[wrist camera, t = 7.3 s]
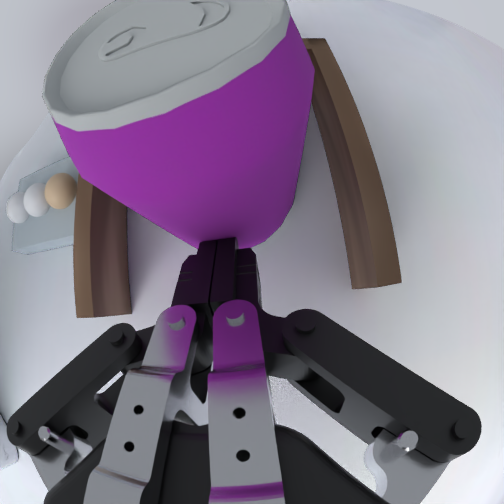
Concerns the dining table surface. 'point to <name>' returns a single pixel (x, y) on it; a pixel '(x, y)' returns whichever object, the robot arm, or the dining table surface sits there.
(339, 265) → the dining table surface
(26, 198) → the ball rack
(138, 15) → the beverage can
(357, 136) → the walnut U-seat
